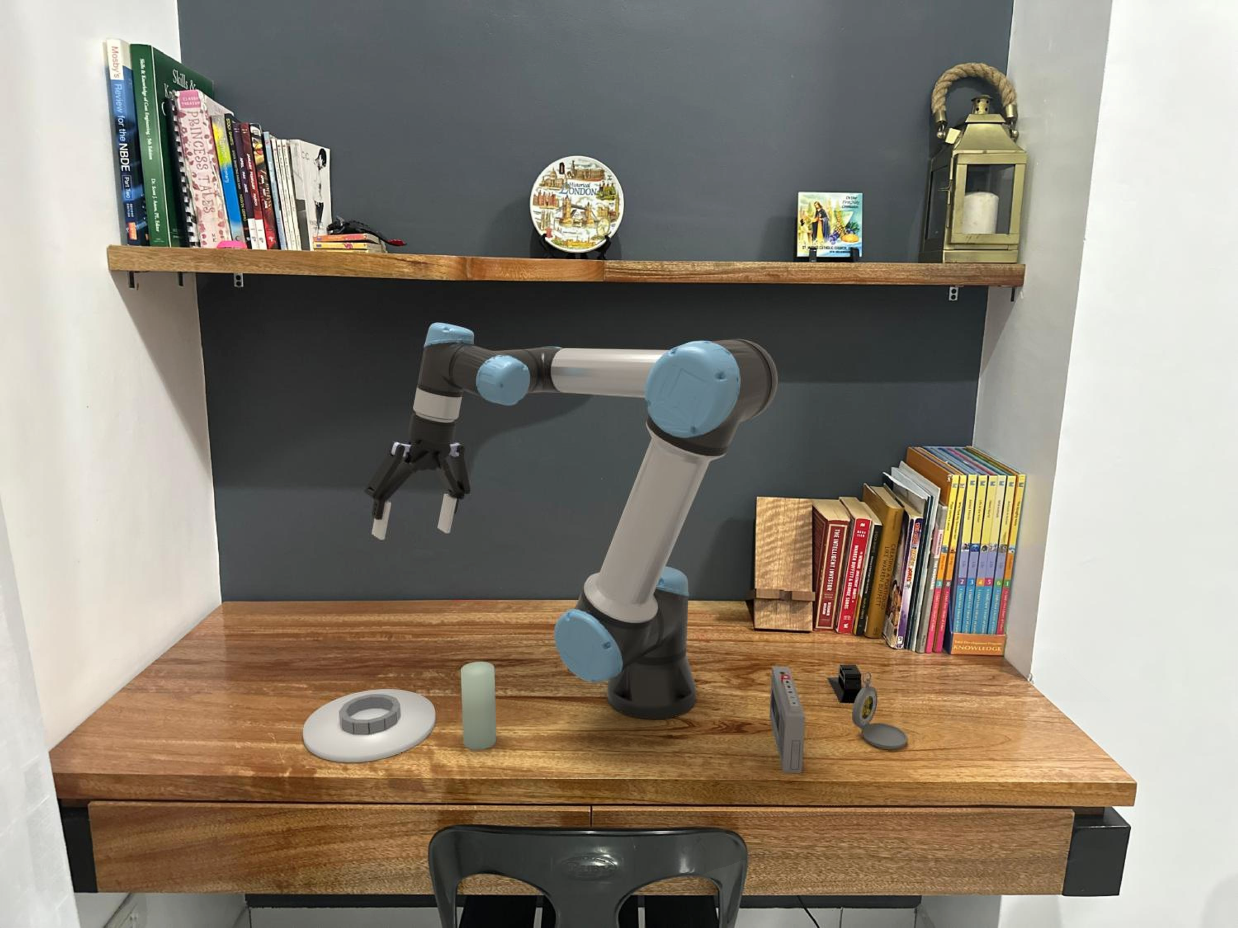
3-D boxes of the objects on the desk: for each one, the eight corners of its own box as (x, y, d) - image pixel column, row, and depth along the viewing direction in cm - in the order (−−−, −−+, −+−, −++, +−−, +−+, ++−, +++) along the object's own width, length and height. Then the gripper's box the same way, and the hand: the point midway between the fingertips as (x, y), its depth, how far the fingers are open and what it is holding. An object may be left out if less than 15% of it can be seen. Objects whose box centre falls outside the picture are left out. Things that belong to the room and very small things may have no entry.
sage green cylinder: (498, 732, 125) (496, 661, 123) (493, 750, 120) (491, 676, 118) (466, 732, 125) (464, 661, 123) (460, 749, 120) (457, 676, 118)
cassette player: (769, 716, 131) (772, 660, 129) (785, 717, 131) (789, 661, 128) (782, 772, 115) (786, 709, 113) (801, 773, 115) (805, 710, 113)
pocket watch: (909, 754, 120) (915, 693, 118) (851, 747, 122) (856, 687, 120) (901, 726, 128) (907, 668, 126) (847, 720, 130) (851, 663, 128)
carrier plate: (447, 695, 136) (446, 678, 136) (418, 762, 117) (417, 743, 116) (330, 695, 136) (328, 677, 136) (282, 761, 117) (280, 742, 116)
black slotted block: (820, 676, 146) (822, 652, 145) (860, 676, 146) (862, 653, 145) (837, 711, 134) (838, 685, 133) (880, 711, 134) (882, 686, 133)
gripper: (478, 412, 146) (455, 520, 150) (356, 406, 127) (335, 531, 131) (504, 424, 141) (480, 535, 146) (383, 420, 122) (359, 548, 127)
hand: (411, 533), depth 139 cm, fingers open, 13 cm apart
